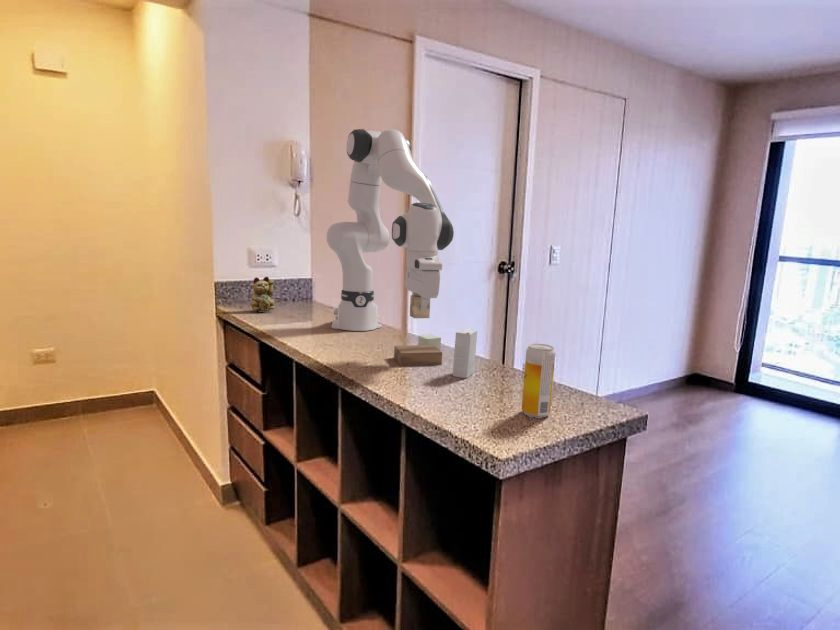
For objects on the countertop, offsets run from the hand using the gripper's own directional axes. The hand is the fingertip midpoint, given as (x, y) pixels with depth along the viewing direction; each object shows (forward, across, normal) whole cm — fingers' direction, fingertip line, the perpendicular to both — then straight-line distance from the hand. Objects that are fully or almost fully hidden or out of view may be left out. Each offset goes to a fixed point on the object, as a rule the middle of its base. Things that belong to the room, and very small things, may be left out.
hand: (419, 309), depth 154 cm
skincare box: (+15, +16, +8) cm, 24 cm away
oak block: (+2, 0, 0) cm, 2 cm away
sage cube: (+15, -10, +7) cm, 20 cm away
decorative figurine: (+15, -88, -41) cm, 98 cm away
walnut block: (+16, 0, 0) cm, 16 cm away
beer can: (+16, +47, +12) cm, 51 cm away
